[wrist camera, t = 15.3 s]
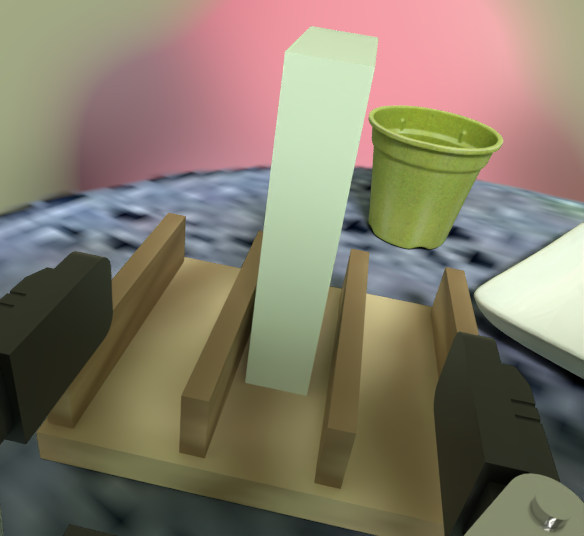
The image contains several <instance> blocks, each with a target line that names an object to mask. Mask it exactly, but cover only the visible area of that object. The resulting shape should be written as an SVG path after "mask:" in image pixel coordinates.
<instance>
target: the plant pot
mask: <svg viewBox="0 0 584 536" xmlns="http://www.w3.org/2000/svg"><path fill="white" fill-rule="evenodd" d="M369 122H370V124H371V125H372V126H373V128H372V142H373V145H374V153H373V168H372V182H371V196H370V209H369V225H371V227H372V229H373V232H374V234H375V235H376V236H378V237H379V238H381V239H382V240H384V241H386V242H388V243H391V244H393V245H396V246H398V247H402V248H408V249H412V248H415V247H425V248H427V249H434V248H437V247H439V246H441V245H442V244H443V243H444V241H445V240H446V237H447V235H448V233H449V231H450V229H451V227H452V225H453V223H454V221H455V219H456V217H457V215H458V213H459V211H460V209H461V207H462V205H463V203H464V201H465V199H466V197H467V195H468V193H469V191H470V189H471V187H472V186H473V184H474V182H475V180H476V178H477V176H478V174H479V172H480V170H481V169H482V168H483V167H484V166H486V164H487V163H488V161H489V159H490V157H491V155H492V153H493V152H496V151H497V150H499V149H500V148H501V146H502V144H503V138H502V136H501V135H500V134H499V133H498V132H497V131H495V130H494V129H492V128H490V127H489V126H487V125H485V124H483V123H480V122H478V121H476V120H473V119H470V118H467V117H464V116H461V115H457V114H453V113H449V112H445V111H441V110H434V109H430V108H424V107H415V106H383V107H379V108H376V109H374V110H372V111H371V112H370V114H369Z"/></svg>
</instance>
